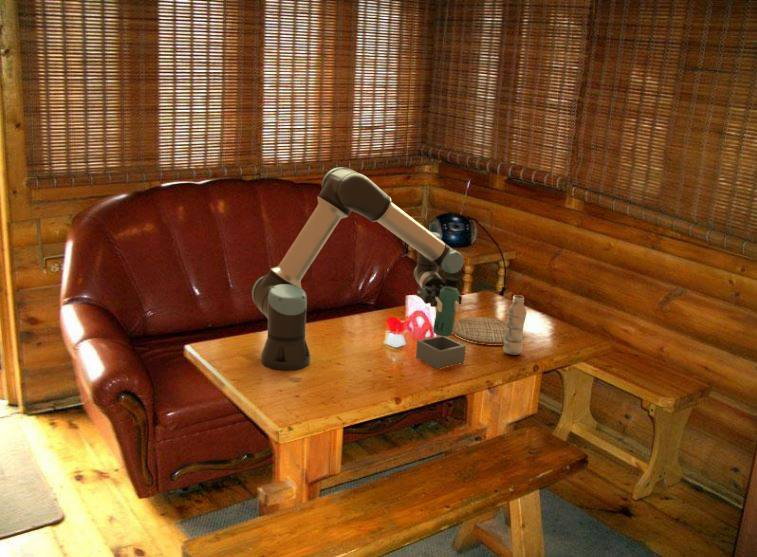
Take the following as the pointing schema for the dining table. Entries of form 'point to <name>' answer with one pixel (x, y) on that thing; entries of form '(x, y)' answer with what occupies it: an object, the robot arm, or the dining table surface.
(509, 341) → the plastic bottle
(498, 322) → the trivet
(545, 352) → the dining table surface
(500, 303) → the dining table surface
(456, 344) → the bottle holder
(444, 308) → the beverage bottle
